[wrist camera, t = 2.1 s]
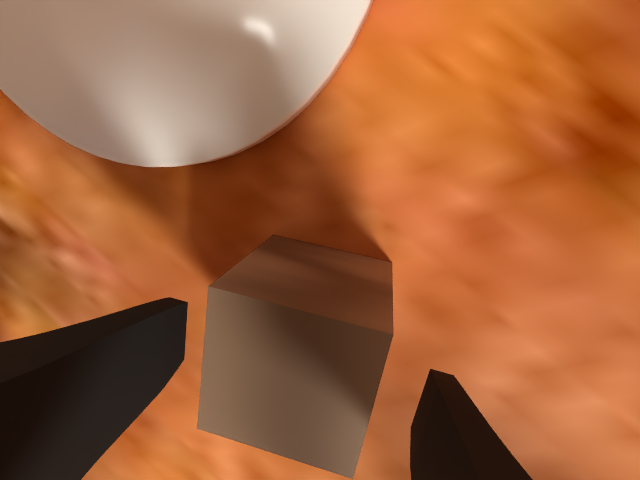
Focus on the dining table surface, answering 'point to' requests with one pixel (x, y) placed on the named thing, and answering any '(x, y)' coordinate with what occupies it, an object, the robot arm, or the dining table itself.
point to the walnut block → (297, 351)
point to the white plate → (171, 71)
